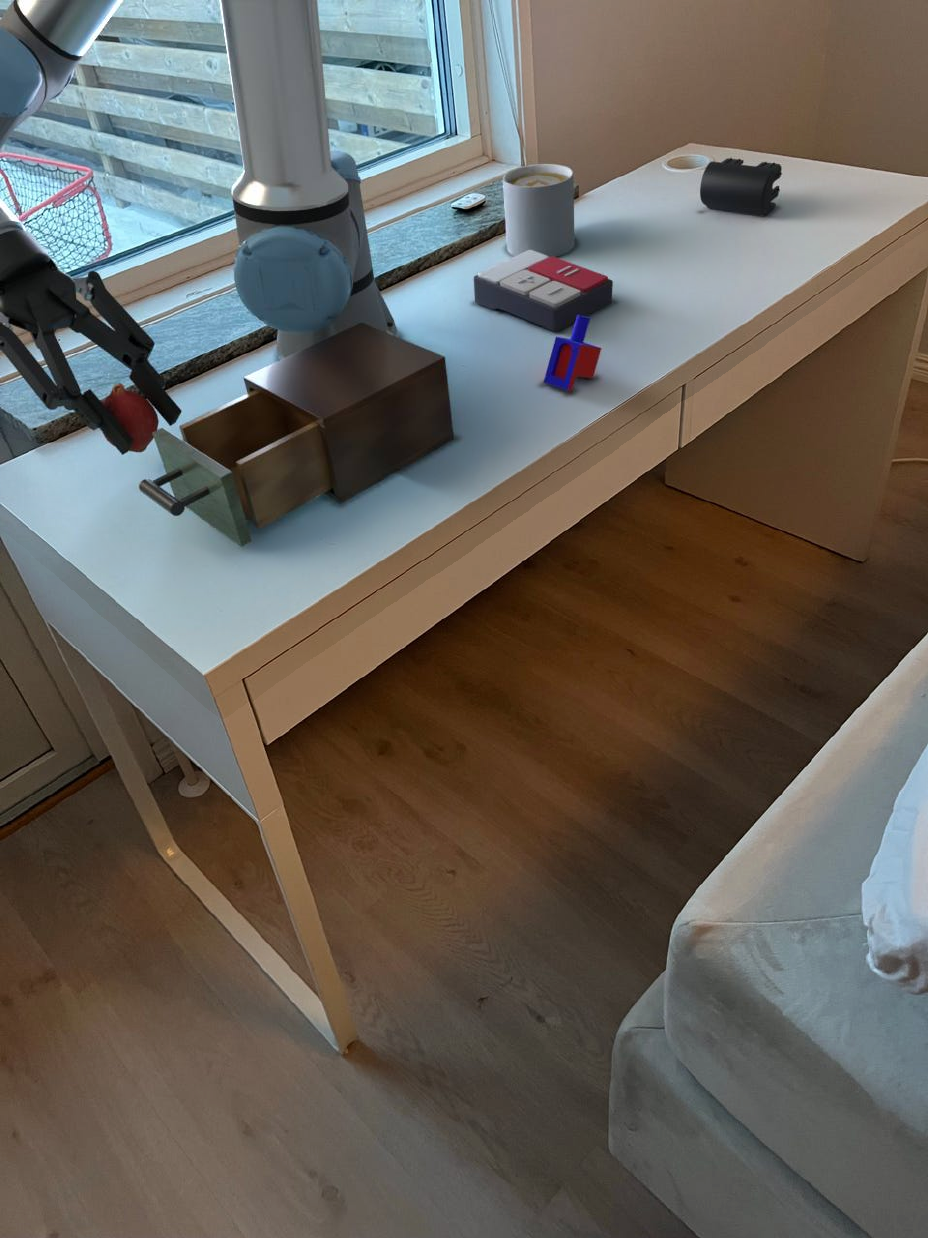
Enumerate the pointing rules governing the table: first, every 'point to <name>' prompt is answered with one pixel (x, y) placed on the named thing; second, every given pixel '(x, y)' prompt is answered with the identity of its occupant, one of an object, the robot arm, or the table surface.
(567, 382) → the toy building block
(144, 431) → the onion
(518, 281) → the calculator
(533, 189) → the coffee mug
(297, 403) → the cabinet
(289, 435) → the drawer
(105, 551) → the table surface
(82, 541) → the table surface
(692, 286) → the table surface
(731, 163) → the end cap
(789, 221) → the table surface
